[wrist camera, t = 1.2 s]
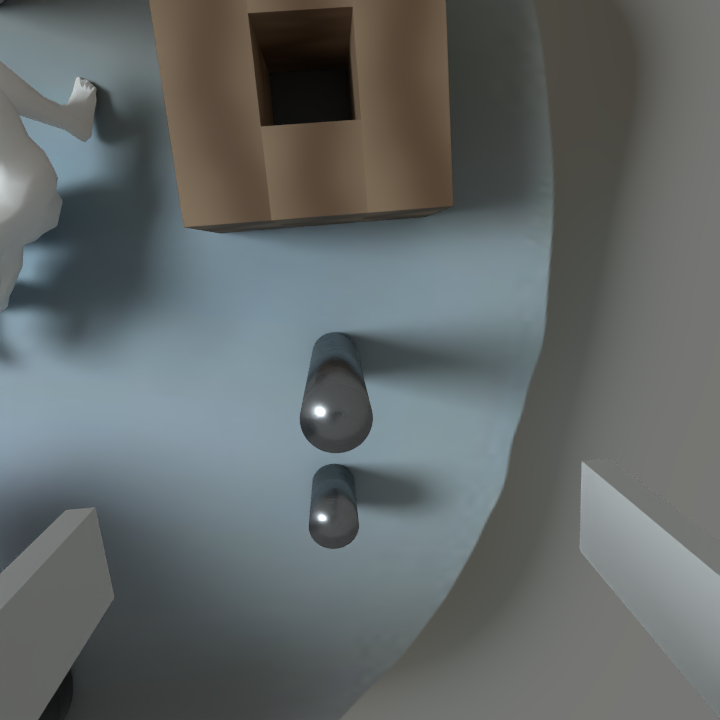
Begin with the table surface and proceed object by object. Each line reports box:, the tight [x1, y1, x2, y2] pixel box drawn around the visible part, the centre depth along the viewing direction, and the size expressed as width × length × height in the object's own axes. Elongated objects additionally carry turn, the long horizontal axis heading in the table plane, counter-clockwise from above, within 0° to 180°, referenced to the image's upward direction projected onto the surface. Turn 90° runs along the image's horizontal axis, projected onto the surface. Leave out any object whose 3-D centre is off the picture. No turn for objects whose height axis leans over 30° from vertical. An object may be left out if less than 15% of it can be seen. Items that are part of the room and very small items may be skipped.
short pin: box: [309, 464, 359, 549], centre depth 34 cm, size 3×3×6 cm
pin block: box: [149, 0, 453, 233], centre depth 28 cm, size 14×14×8 cm
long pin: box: [300, 332, 373, 453], centre depth 28 cm, size 3×3×14 cm
